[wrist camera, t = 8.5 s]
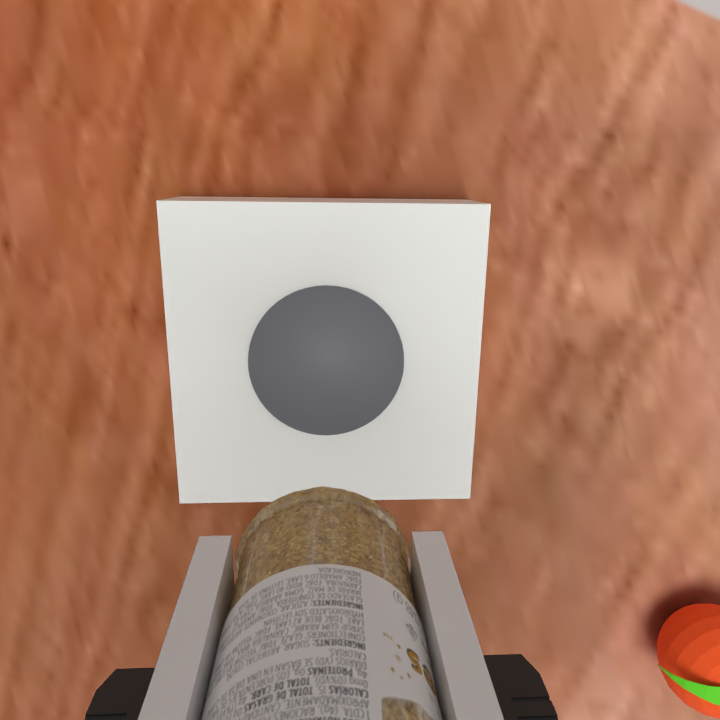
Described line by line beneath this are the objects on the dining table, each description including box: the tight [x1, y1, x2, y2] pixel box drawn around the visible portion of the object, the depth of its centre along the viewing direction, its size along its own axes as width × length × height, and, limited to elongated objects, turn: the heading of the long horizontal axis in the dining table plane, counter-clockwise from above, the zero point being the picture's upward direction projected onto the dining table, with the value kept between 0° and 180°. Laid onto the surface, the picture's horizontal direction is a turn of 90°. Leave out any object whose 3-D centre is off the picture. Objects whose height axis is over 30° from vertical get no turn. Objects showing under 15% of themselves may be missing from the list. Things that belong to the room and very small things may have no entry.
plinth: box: [156, 196, 491, 503], centre depth 35 cm, size 16×16×5 cm
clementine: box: [657, 604, 720, 719], centre depth 42 cm, size 8×7×7 cm
